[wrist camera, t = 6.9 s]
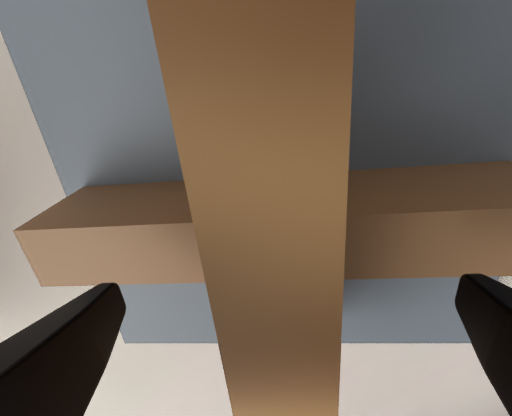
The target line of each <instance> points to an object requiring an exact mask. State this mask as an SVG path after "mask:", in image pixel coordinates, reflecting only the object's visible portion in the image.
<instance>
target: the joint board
mask: <svg viewBox="0 0 512 416" xmlns="http://www.w3.org/2000/svg"><path fill="white" fill-rule="evenodd" d="M0 31H1V33H2V36H3V38H4V41H5V43H6V46H7V48H8V51H9V53H10V56H11V59H12V61H13V64H14V66H15V69H16V71H17V74H18V76H19V79H20V81H21V84H22V86H23V89H24V91H25V94H26V96H27V99H28V101H29V104H30V106H31V109H32V111H33V114H34V116H35V119H36V121H37V124H38V126H39V129H40V131H41V134H42V136H43V139H44V141H45V144H46V146H47V149H48V151H49V154H50V156H51V159H52V161H53V164H54V166H55V169H56V171H57V174H58V176H59V179H60V181H61V184H62V187H63V189H64V192H65V194H66V198H65V199H63V200H61V201H60V202H58V203H57V204H55V205H53V206H52V207H50V208H49V209H47V210H45V211H44V212H42V213H41V214H39V215H38V216H36V217H34V218H33V219H31V220H30V221H28V222H26V223H25V224H23V225H22V226H20V227H18V228H17V229H15V230H14V231H13V232H14V234H15V236H16V238H17V240H18V242H19V243H20V245H21V247H22V249H23V251H24V253H25V255H26V257H27V259H28V261H29V263H30V265H31V267H32V269H33V271H34V273H35V275H36V277H37V279H38V281H39V283H40V285H41V286H85V285H98V284H100V283H109V282H114V283H117V284H118V285H119V287H120V290H121V293H122V295H123V298H124V301H125V304H126V313H125V316H124V319H123V322H122V324H121V327H120V332H121V335H122V337H123V340H124V342H125V343H218V340H217V336H216V331H215V326H214V321H213V316H212V312H211V307H210V302H209V297H208V293H207V288H206V283H205V278H204V273H203V269H202V264H201V259H200V254H199V249H198V245H197V240H196V235H195V230H194V226H193V221H192V216H191V211H190V206H189V202H188V197H187V192H186V187H185V183H184V178H183V173H182V168H181V163H180V159H179V154H178V149H177V144H176V139H175V135H174V130H173V125H172V120H171V116H170V111H169V106H168V101H167V96H166V92H165V87H164V82H163V77H162V72H161V68H160V63H159V58H158V53H157V49H156V44H155V39H154V34H153V29H152V25H151V20H150V15H149V10H148V6H147V1H146V0H0ZM469 273H481V274H484V275H486V276H488V277H490V278H492V279H494V280H496V281H498V278H499V276H512V0H356V6H355V29H354V53H353V76H352V100H351V123H350V147H349V170H348V194H347V217H346V241H345V264H344V288H343V311H342V335H341V343H471V341H470V339H469V337H468V334H467V332H466V330H465V328H464V326H463V323H462V321H461V319H460V317H459V314H458V312H457V310H456V307H455V296H456V292H457V288H458V284H459V280H460V277H461V276H462V275H463V274H469Z"/></svg>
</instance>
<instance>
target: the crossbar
mask: <svg viewBox="0 0 512 416" xmlns="http://www.w3.org/2000/svg"><path fill="white" fill-rule="evenodd" d="M146 1H147V6H148V10H149V15H150V20H151V25H152V29H153V34H154V39H155V44H156V49H157V53H158V58H159V63H160V68H161V72H162V77H163V82H164V87H165V92H166V96H167V101H168V106H169V111H170V116H171V120H172V125H173V130H174V135H175V139H176V144H177V149H178V154H179V159H180V163H181V168H182V173H183V178H184V183H185V187H186V192H187V197H188V202H189V206H190V211H191V216H192V221H193V226H194V230H195V235H196V240H197V245H198V249H199V254H200V259H201V264H202V269H203V273H204V278H205V283H206V288H207V293H208V297H209V302H210V307H211V312H212V316H213V321H214V326H215V331H216V336H217V340H218V345H219V350H220V355H221V360H222V364H223V369H224V374H225V379H226V383H227V388H228V393H229V398H230V403H231V407H232V412H233V416H338V405H339V382H340V358H341V335H342V311H343V288H344V264H345V241H346V217H347V194H348V170H349V147H350V123H351V100H352V76H353V53H354V29H355V6H356V0H146Z"/></svg>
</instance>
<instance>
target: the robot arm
mask: <svg viewBox="0 0 512 416" xmlns="http://www.w3.org/2000/svg"><path fill="white" fill-rule="evenodd" d="M455 307H456V310H457V312H458V314H459V317H460V319H461V321H462V323H463V326H464V328H465V330H466V332H467V334H468V337H469V339H470V341H471V343H472V346H473V348H474V350H475V352H476V355H477V357H478V359H479V361H480V363H481V365H482V367H483V369H484V371H485V373H486V375H487V377H488V379H489V380H490V382H491V384H492V386H493V387H494V389H495V391H496V393H497V394H498V396H499V398H500V400H501V401H502V403H503V405H504V407H505V408H506V410H507V412H508V414H509V415H510V416H512V288H510V287H508V286H506V285H504V284H502V283H500V282H498V281H496V280H494V279H492V278H490V277H488V276H486V275H484V274H481V273H469V274H463V275H462V276H461V277H460V280H459V284H458V288H457V292H456V296H455ZM125 313H126V304H125V301H124V298H123V295H122V293H121V290H120V287H119V285H118V284H117V283H114V282H109V283H100V284H98V285H97V286H95V287H93V288H92V289H90V290H88V291H87V292H85V293H83V294H82V295H80V296H78V297H77V298H75V299H73V300H72V301H70V302H68V303H67V304H65V305H63V306H62V307H60V308H58V309H57V310H55V311H53V312H52V313H50V314H48V315H47V316H45V317H43V318H41V319H40V320H38V321H36V322H35V323H33V324H31V325H30V326H28V327H26V328H25V329H23V330H21V331H20V332H18V333H16V334H15V335H13V336H11V337H10V338H8V339H6V340H5V341H3V342H1V343H0V416H83V415H84V413H85V411H86V409H87V407H88V405H89V403H90V401H91V398H92V396H93V394H94V392H95V390H96V388H97V386H98V383H99V381H100V379H101V377H102V375H103V373H104V370H105V368H106V366H107V363H108V361H109V358H110V355H111V352H112V350H113V347H114V344H115V341H116V338H117V336H118V333H119V330H120V327H121V324H122V322H123V319H124V316H125Z"/></svg>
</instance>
